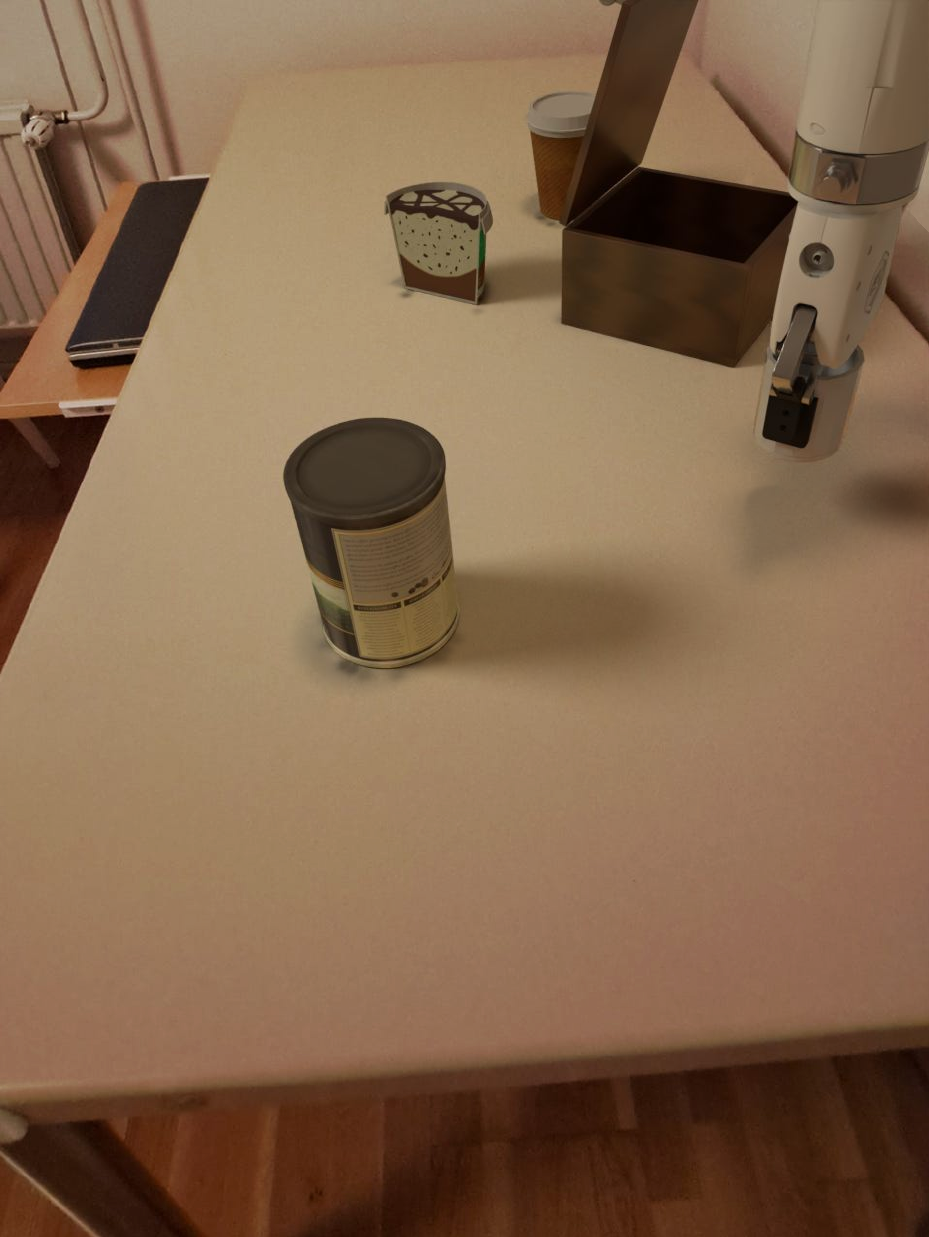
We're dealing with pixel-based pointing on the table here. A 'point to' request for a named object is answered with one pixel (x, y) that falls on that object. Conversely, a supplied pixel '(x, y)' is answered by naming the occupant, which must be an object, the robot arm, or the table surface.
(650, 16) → the chest lid
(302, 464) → the coffee can
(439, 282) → the food container
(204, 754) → the table surface
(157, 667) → the table surface
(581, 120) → the disposable coffee cup
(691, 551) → the table surface
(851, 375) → the white cup
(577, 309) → the storage chest
